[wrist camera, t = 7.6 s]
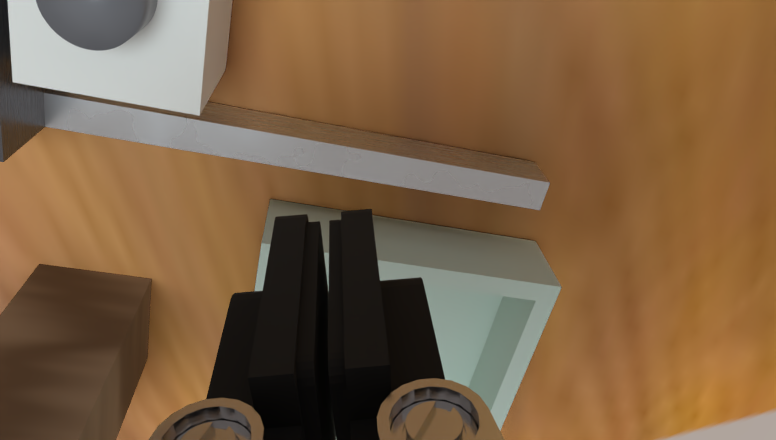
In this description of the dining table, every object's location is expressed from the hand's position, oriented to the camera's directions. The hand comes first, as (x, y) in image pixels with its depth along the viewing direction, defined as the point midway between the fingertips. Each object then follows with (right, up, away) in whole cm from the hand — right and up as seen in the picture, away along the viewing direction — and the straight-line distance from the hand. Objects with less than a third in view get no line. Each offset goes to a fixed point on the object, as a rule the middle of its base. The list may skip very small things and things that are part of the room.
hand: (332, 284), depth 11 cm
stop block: (-12, -3, +16) cm, 20 cm away
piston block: (-7, +10, +9) cm, 15 cm away
